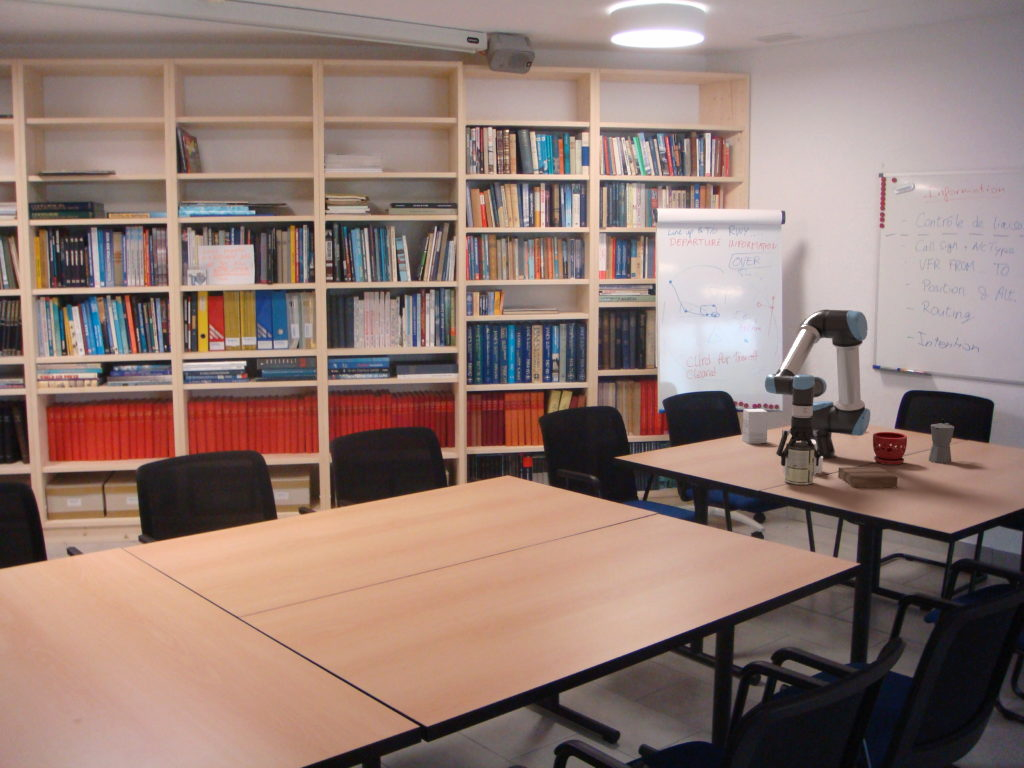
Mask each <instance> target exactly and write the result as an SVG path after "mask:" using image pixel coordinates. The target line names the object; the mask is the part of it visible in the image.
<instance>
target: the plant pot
mask: <svg viewBox="0 0 1024 768" xmlns="http://www.w3.org/2000/svg"><path fill="white" fill-rule="evenodd" d="M907 446H908V436H907V435H906V434H904V433H900V432H893V431H891V432H890V431H879V432H875V433H873V434H872V448H873V452H874V457H873V459H874V461H875V462H877V463H878V462H879V464H882V465H887V464H892V465H891V466H893V465H894V466H897V465H896V464H898V465H902V464H903V463H904V461H905V459H904V455H905V452H906V450H907Z"/></svg>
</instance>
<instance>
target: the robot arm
mask: <svg viewBox="0 0 1024 768" xmlns="http://www.w3.org/2000/svg"><path fill="white" fill-rule="evenodd" d="M868 331H869V329H868V321H867V318H866V316H865V314H864V313H863V312H861V311H857V310H846V309H844V310H842V309H820V310H818V311H816V312H814V313H812V314H811V315H808V316H807V318H805V319H804V320H803V321H802V323H800V325H799V326H798V328H797V331H796V337H795V339H794V341H793V342H792V344H791V346H790V348H789V349H788V351H787V353H786V355H785V356H784V358H783V361H782V362H781V363H780V366H779V368H778V370H777V371H776V373H769V374H767V375H766V377H765V380H764V388H765V391H766V392H767V393H768V394H775V395H784V396H792V400H791V401H792V403H791V418H790V419H791V420H790V422H791V423H790V428H789V429H787V430H786V429H782V431H781V439H780V441H779V444H778V447H777V450H776V452H775V454H776V456H778V457H780V465H781V466H782V474H783V475H784V476H785V475H787V468H788V458H787V457H786V456H787V454H788V447H786V444H787V443H788V444H787V445H789V446H793V445H794V444H795V443H796V442H801V443H808V445H810V446H814V445H813V443H812V441H811V439H813V440H815V441H816V444H817V451H816V449H815V448H814V467H813V476H817V474H816V466H818V465H819V458H820V457H821V456H823V459H830V458H835V457H836V450H835V446H834V443H833V439H832V433H833V434H839V435H840V434H841V435H846V436H847V435H848V436H857V437H858V436H864V435H865V433H866V432H867V430H868V427H869V426H870V425H869V424H870V421H871V409H869V408H867V407H865V406H866V404H865V402H864V401H863V400H862V398H861V373H860V348H859V347H860V346H861V345H862V344H863V341H865V340H866V339H867V336H868ZM820 339H831V342H832V346H834V347H835V348H836V364H837V365H836V368H837V388H838V389H837V390H838V393H837V394H838V401H837V402H835V404H834V401H832V400H819V401H817V400H816V401H814V399H815V398H818V397H820V396H822V395H824V394H825V392H827V387H828V385H827V382H826V381H825V379H824V378H822V377H819V376H814V375H811V374H799V373H800V372H801V370H802V368H803V366H804V364H805V363H806V360H807V358H808V356H809V355H810V352H811V351H812V349H813V347H814V346H815V345H816V344H817V343H819V341H820ZM789 435H791V437H790V438H789V441H788V442H787V439H788V437H789Z"/></svg>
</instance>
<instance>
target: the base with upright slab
mask: <svg viewBox="0 0 1024 768" xmlns="http://www.w3.org/2000/svg"><path fill="white" fill-rule="evenodd" d="M811 441H812V443H813V445H815V449H816V451H817V444H816V441H815V440H813V439H811ZM823 465H824V458H823V456H821V457H820V458H819V465H818V466H816V473H819V474H822V473H823Z"/></svg>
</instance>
